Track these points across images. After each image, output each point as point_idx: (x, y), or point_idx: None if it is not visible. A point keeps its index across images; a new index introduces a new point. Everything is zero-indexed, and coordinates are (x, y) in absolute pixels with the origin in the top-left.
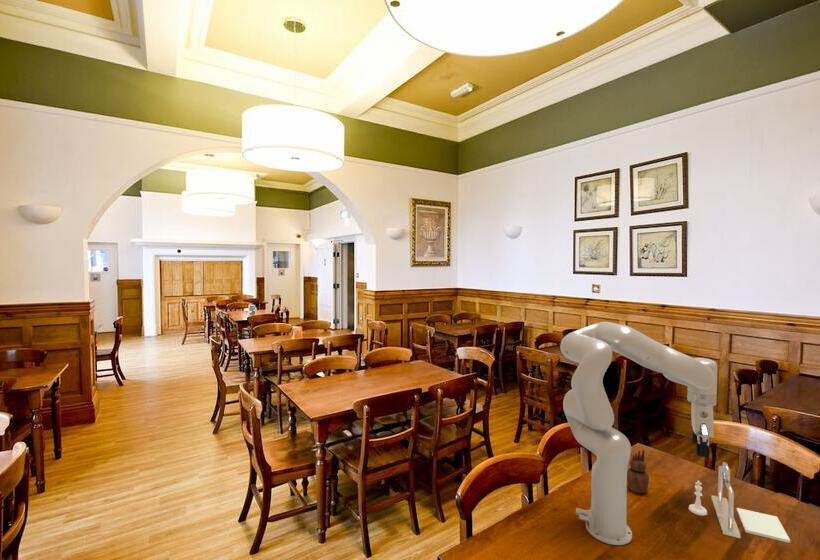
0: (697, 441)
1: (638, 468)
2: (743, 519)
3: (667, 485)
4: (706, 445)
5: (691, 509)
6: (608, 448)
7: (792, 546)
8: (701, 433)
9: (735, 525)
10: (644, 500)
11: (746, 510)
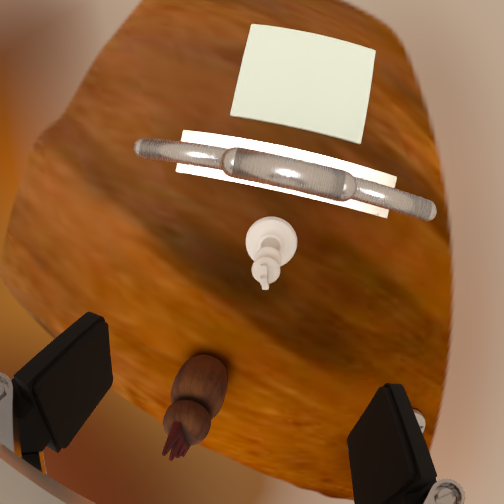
0: (101, 371)
1: (209, 426)
2: (300, 122)
3: (145, 281)
4: (436, 488)
5: (281, 265)
6: None
7: (385, 56)
8: (45, 403)
9: (353, 167)
10: (254, 366)
11: (239, 91)
